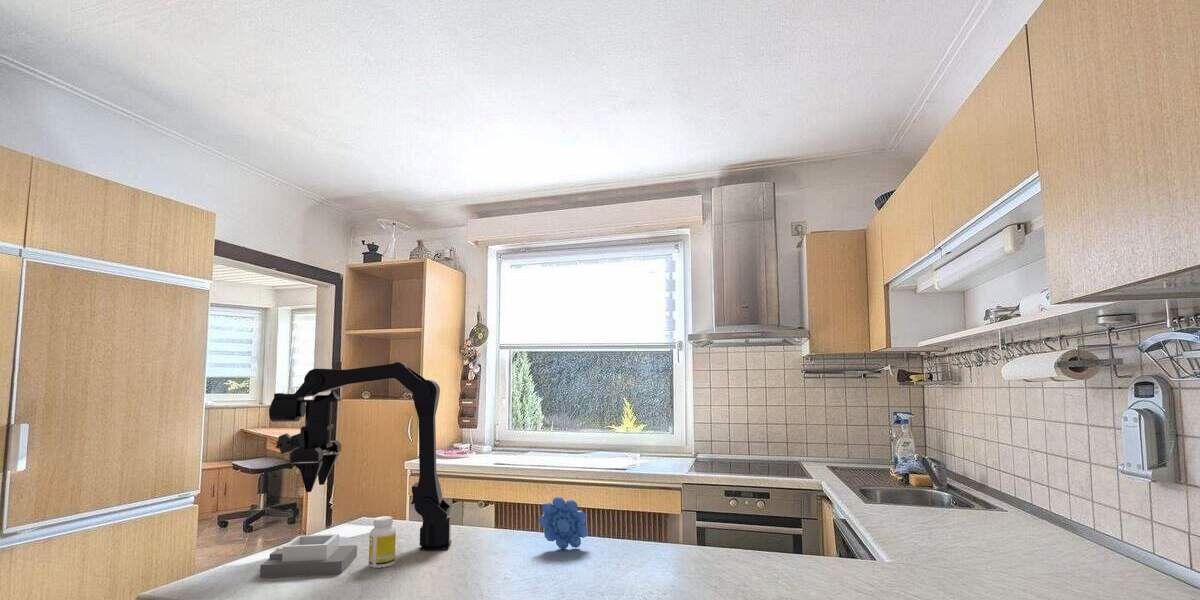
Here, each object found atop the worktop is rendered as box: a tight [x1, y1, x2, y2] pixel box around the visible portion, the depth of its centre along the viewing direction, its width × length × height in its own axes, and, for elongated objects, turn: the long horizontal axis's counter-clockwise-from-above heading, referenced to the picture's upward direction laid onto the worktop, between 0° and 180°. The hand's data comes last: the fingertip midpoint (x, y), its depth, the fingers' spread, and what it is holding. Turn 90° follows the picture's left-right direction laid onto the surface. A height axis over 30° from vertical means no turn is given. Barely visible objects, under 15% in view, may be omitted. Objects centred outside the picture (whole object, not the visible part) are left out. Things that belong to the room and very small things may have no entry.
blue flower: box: [538, 495, 589, 550], centre depth 141 cm, size 12×7×12 cm, turn 92°
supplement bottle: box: [368, 515, 397, 569], centre depth 132 cm, size 5×5×10 cm
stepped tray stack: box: [259, 533, 358, 579], centre depth 131 cm, size 16×12×6 cm
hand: (315, 488), depth 142 cm, fingers open, 9 cm apart
